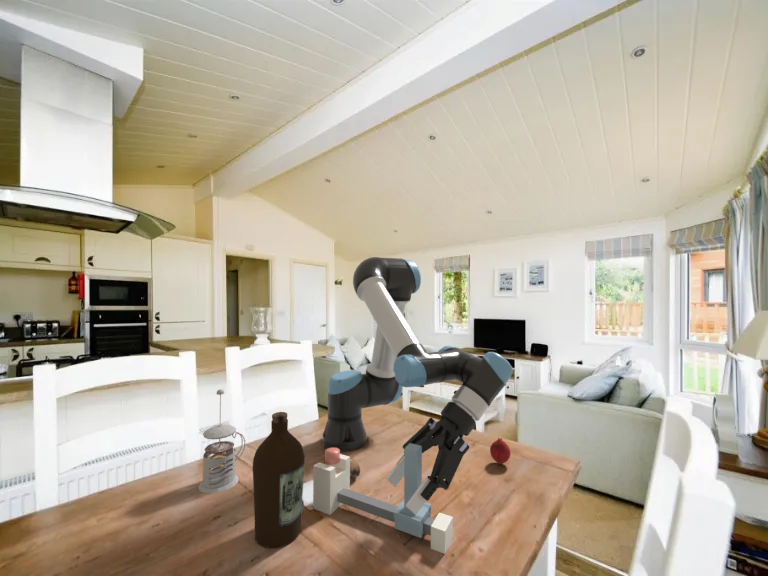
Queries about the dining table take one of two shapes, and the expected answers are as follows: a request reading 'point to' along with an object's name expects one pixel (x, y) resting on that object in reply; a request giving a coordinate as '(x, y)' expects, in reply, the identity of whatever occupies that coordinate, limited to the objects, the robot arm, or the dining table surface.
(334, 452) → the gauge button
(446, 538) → the slide rail
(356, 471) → the mushroom
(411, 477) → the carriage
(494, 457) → the onion
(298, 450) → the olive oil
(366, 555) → the dining table surface
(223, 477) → the french press
